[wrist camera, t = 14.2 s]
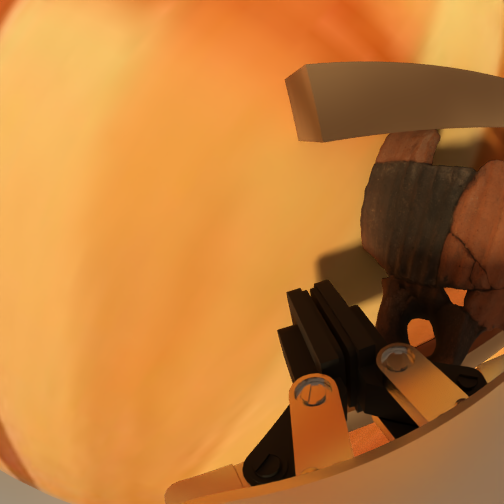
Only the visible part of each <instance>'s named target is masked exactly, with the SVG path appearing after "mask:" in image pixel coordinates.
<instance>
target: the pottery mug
mask: <svg viewBox="0 0 504 504" xmlns="http://www.w3.org/2000/svg"><path fill="white" fill-rule="evenodd" d="M439 141H440V135H439V133H438V131H437V130H436V129H430V130H417V131H406V132H396V133H390V134H389V135H388V136H387V137H386V139H385V141H384V143H383V145H382V146H381V148H380V151H379V154H378V156H377V158H376V163H375V164H374V166H373V168H372V171H371V175H370V178H369V182H368V185H367V186H366V188H365V195H364V202H363V206H362V209H361V219H360V225H361V238H362V245H363V248H364V249H365V251H367V252H368V253H369V254H370V255H371V256H372V257H373V258H375V259H376V261H377V262H378V264H379V265H380V266H381V267H382V268H384V269H385V271H386V272H387V274H388V275H389V276H388V277H387V278H383V279H382V287H383V298H382V302H381V305H380V309H379V312H378V316H377V322H376V326H375V328H376V329H377V330H378V332H379V333H380V334H381V336H382V337H383V338H384V340H385V341H386V342H387V344H388V345H389V344H392V343H406V344H409V345H410V343H409V340H408V333H407V325H408V323H409V322H410V321H411V320H412V319H416V318H420V319H425V320H429V321H430V323H431V324H432V327H433V332H434V336H435V339H436V347H435V350H434V352H433V354H432V355H430V356H428V357H426V358H427V359H428V360H429V361H432V362H439V363H445V364H452V365H459V366H461V364H462V362H463V361H464V359H465V357H466V355H467V353H468V351H469V349H470V348H471V346H472V344H473V342H474V341H475V340H476V339H477V338H478V337H479V336H480V334H481V333H483V332H485V331H491V330H493V328H499V329H501V330H503V331H504V161H501V160H491V161H488V162H487V163H486V164H485V165H484V166H482V167H481V168H480V170H479V171H478V172H476V171H475V170H474V169H473V168H466V167H458V166H454V167H450V166H444V165H439V166H432V163H433V155H434V153H435V149H436V147H437V144H438V142H439ZM443 287H444V288H446V287H448V288H455V289H463V290H467V293H466V296H465V298H464V306H463V307H462V306H458V305H456V304H453V303H452V302H451V301H450V299H449V297H448V295H447V293H446V292H445V290H444V288H443Z"/></svg>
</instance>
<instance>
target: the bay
mask: <svg viewBox="0 0 504 504" xmlns="http://www.w3.org/2000/svg"><path fill="white" fill-rule="evenodd" d="M285 82H286V86H287V90H288V95H289V99H290V103H291V108H292V112H293V116H294V121H295V126H296V130H297V135H298V140H299V141H311V142H329V141H335V140H342V139H348V138H355V137H362V136H370V135H378V134H386V133H396V132H406V131H417V130H430V129H446V128H471V127H504V78H501V77H497V76H493V75H488V74H484V73H479V72H474V71H468V70H463V69H457V68H450V67H443V66H435V65H425V64H414V63H399V62H333V63H318V64H306V65H304V66H303V67H301V68H300V69H299V70H297V71H296V72H294V73H293V74H292V75H290V76H289V77H288V78H286V79H285ZM435 347H436V339H433V340H431V341H429V342H427V343H425V344H423V345H420V346H418V347H416V349H417V350H418V351H419V352H420V353H421V354H422V355H423V356H425V357H428V356H430V355H432V354H433V352H434V350H435ZM503 347H504V331H503V330H501V329H499V328H493V330H491V331H485V332H483V333H481V334H480V336H479V337H478V338H477V339H476V340H475V341H474V342H473V344H472V346H471V348H470V349H469V351H468V353H467V355H466V357H465V359H464V361H463V362H462V364H461V366H467V367H472V368H475V367H477V366H478V365H479V364H481V363H483V362H484V361H485V360H487V359H488V358H490V357H491V356H492V355H494V354H495V353H496V352H498V351H499V350H500V349H502V348H503ZM373 422H374V421H373V419H372V415H369V414H365V413H364V412H363V411H362V412H359V413H357V412H356V410H355V408H354V407H351V408H350V407H349V406H348V404H347V421H346V424H347V429H348V432H350V431H353V430H356V429H358V428H361V427H363V426H366V425H368V424H371V423H373Z"/></svg>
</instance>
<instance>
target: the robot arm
mask: <svg viewBox="0 0 504 504" xmlns="http://www.w3.org/2000/svg"><path fill="white" fill-rule="evenodd" d="M310 294H311V296H310V295H309V293H308V291H307V290H305V291H302V290H301V288H299V289H295V290H292V291H289V292H287V298H288V303H289V308H290V312H291V317H292V322H293V325H292V326H289V327H285V328H282V329H279V330H277V331H278V336H279V340H280V343H281V347H282V351H283V354H284V358H285V361H286V364H287V367H288V370H289V373H290V376H291V379H292V382H293V384H292V386H291V388H290V390H289V403H290V404H289V406H288V407H287V408H286V410H285V411H284V412H283V414H282V415H281V416H280V418H279V419H278V420H277V421H276V423H275V424H274V425H273V426H272V428H271V429H270V430H269V431H268V433H267V434H266V435H265V436H264V438H263V439H262V440H261V441H260V442H259V444H258V445H257V446H256V447H255V448H254V450H253V451H252V452H251V453H250V454H249V455H248V457H247V458H246V460H245V461H244V462H242V463H240V464H237V465H234V466H233V465H232V464H230V465H227V466H225V467H222V468H219V469H216V470H213V471H210V472H207V473H204V474H201V475H198V476H195V477H192V478H188V479H185V480H181V481H178V482H176V483H174V484H172V485H171V486H170V487H169V488H168V489H167V491H166V493H165V503H166V504H504V354H503V355H501V356H499V357H496V358H494V359H492V360H489V361H487V362H484V363H482V364H479V365H478V366H477V368H476V369H475V368H472V367H467V366H459V365H452V364H445V363H439V362H432V361H429V360H428V359H427V358H426V357H425V356H423V355H422V354H421V353H420V352H419V351H418V350H417V349H416V348H414V347H413V346H411V345H409V344H406V343H392V344H389V345H388V344H387V342H386V341H385V340H384V338H383V337H382V336H381V334H380V333H379V332H378V330H377V329H376V328H375V327H374V325H373V324H372V323H371V321H370V320H369V319H368V318H367V316H366V315H365V314H364V312H363V311H362V310H361V309H360V307H359V306H358V305H353V306H351V307H349V306H348V305H347V304H346V302H345V301H344V300H343V298H342V297H341V296H340V294H339V293H338V292H337V290H336V289H335V288H334V287H333V285H332V284H331V283H330V281H329V280H325V281H322V282H318V283H315V284H314V288H312V289H310ZM347 404H348V406H349V407H350V408H351V407H354V408H355V410H356V412H357V413H359V412H362V411H363V412H364V413H365V414H369V415H372V419H373V421H374V422H375V423H376V425H377V426H378V427H379V428H380V430H381V431H382V432H383V434H384V435H385V436H386V438H387V439H388V440H389V441H390V442H389V443H387V444H385V445H382V446H380V447H378V448H376V449H373V450H371V451H369V452H366V453H364V454H361V455H359V456H356V457H354V455H353V451H352V446H351V442H350V437H349V433H348V429H347V424H346V421H347Z"/></svg>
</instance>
